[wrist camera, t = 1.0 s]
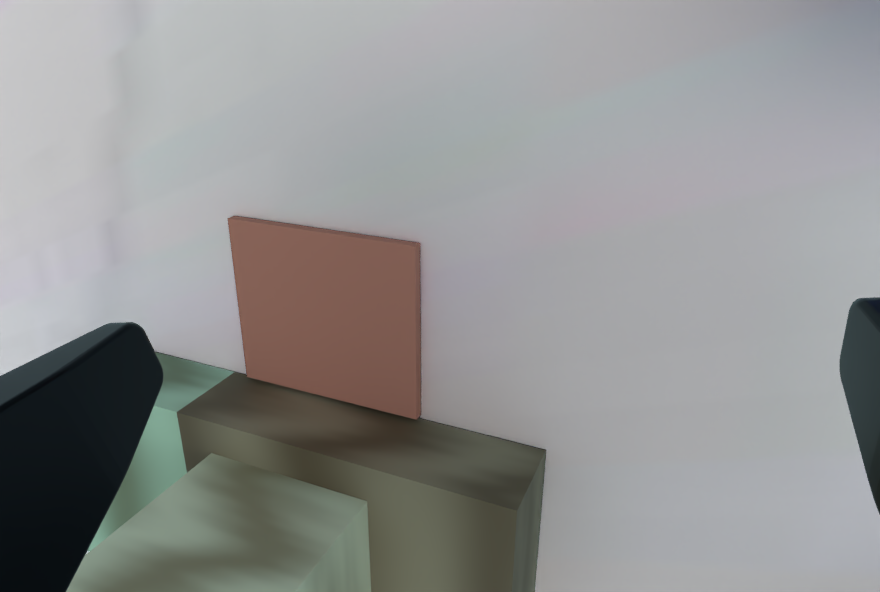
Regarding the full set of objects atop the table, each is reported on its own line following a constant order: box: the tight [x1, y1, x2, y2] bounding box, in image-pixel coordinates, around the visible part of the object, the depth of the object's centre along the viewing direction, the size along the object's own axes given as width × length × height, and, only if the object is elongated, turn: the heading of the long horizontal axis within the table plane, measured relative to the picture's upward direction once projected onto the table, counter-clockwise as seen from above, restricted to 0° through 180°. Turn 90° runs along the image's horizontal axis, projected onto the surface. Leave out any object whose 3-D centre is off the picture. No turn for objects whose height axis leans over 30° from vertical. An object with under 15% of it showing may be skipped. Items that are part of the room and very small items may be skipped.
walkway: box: [88, 352, 546, 592], centre depth 29 cm, size 22×10×4 cm, turn 90°
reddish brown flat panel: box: [228, 216, 421, 420], centre depth 29 cm, size 8×24×1 cm, turn 0°
